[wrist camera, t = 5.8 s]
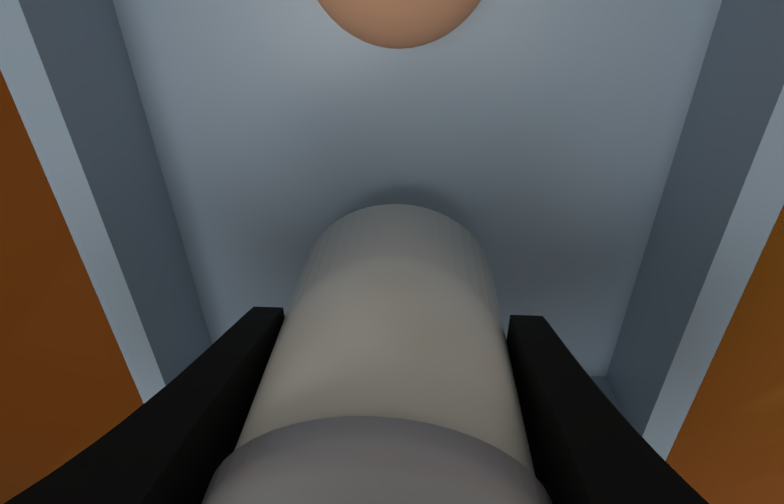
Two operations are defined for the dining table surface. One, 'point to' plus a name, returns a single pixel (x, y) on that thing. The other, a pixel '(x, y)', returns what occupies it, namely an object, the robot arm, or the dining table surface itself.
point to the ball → (399, 19)
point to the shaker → (386, 377)
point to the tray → (417, 164)
